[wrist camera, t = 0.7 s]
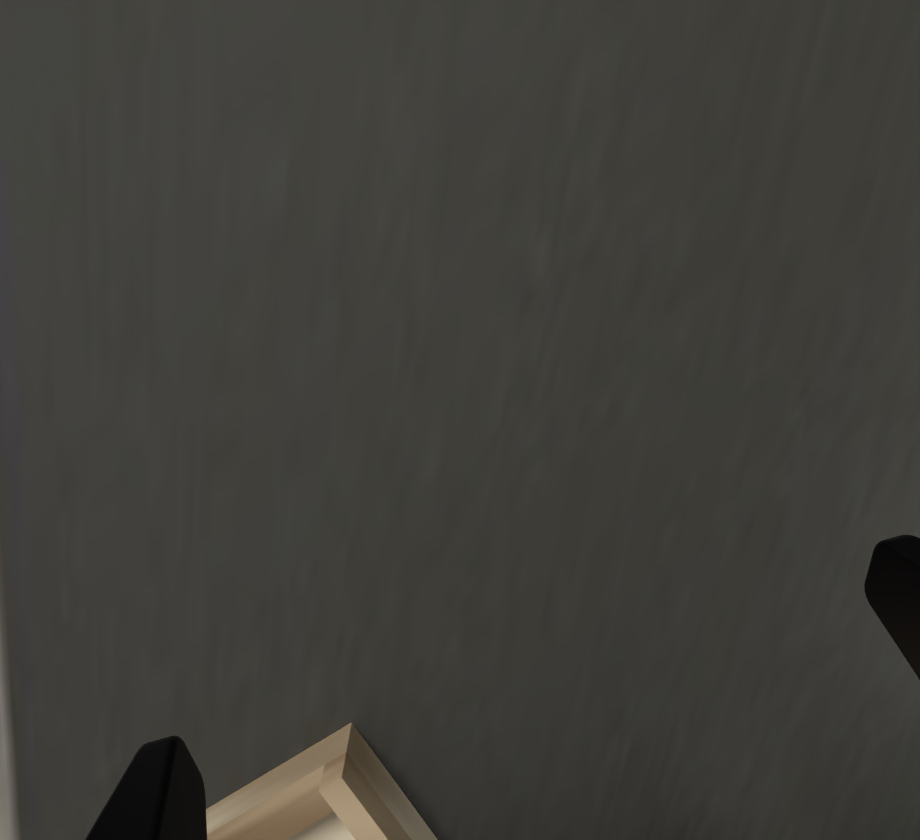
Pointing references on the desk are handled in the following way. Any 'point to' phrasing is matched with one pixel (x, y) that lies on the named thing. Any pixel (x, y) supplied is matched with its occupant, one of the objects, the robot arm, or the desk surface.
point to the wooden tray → (321, 799)
